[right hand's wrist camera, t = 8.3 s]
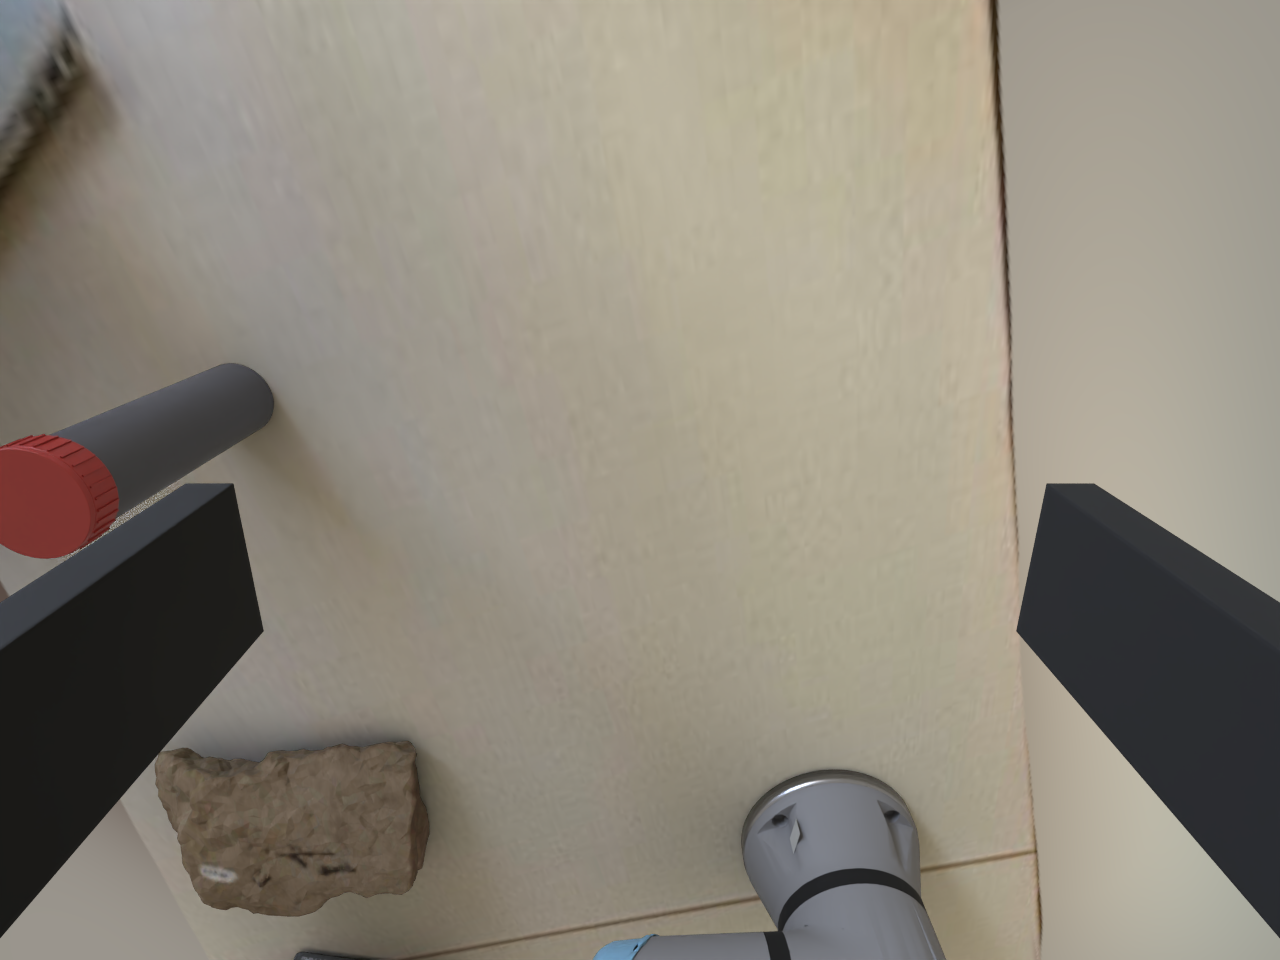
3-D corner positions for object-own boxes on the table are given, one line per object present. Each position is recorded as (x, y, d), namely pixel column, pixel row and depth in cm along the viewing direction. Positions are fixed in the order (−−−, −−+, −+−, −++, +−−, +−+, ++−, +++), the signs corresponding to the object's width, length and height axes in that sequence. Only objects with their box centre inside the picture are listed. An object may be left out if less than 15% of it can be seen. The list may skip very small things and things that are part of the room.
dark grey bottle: (233, 348, 52) (21, 429, 34) (288, 403, 53) (113, 508, 36) (186, 393, 53) (-42, 494, 35) (242, 446, 55) (49, 569, 37)
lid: (46, 409, 36) (11, 422, 34) (145, 496, 37) (117, 512, 35) (-23, 481, 37) (-61, 497, 35) (75, 561, 38) (44, 581, 37)
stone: (186, 899, 66) (153, 950, 60) (166, 738, 64) (130, 774, 58) (435, 867, 69) (427, 912, 63) (423, 713, 67) (414, 745, 61)
